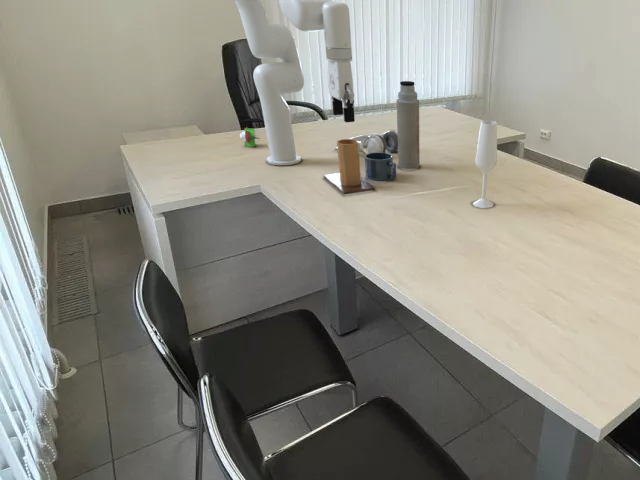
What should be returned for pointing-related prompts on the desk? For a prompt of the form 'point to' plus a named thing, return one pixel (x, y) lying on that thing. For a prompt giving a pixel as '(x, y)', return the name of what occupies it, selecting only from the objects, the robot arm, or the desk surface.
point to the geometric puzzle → (248, 137)
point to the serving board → (335, 181)
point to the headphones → (377, 142)
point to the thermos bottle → (408, 126)
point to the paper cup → (349, 162)
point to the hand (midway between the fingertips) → (343, 118)
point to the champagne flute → (486, 156)
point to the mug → (380, 166)
